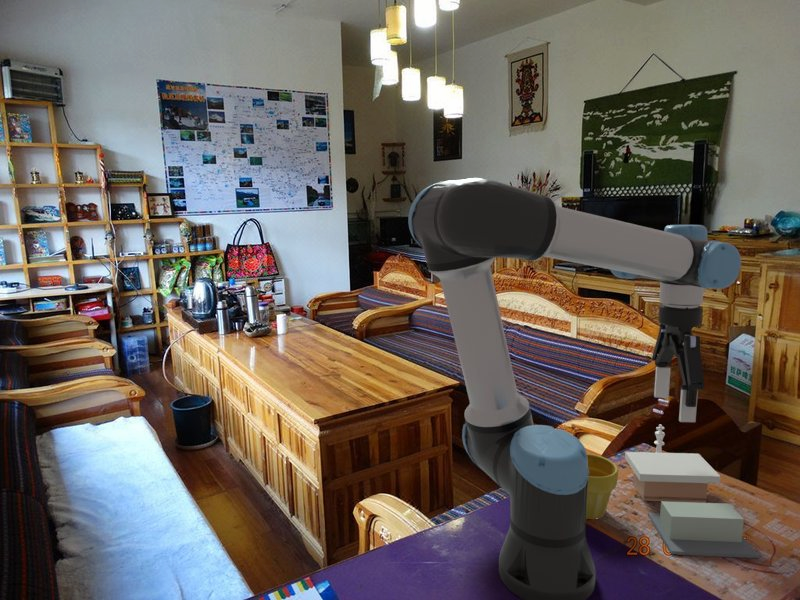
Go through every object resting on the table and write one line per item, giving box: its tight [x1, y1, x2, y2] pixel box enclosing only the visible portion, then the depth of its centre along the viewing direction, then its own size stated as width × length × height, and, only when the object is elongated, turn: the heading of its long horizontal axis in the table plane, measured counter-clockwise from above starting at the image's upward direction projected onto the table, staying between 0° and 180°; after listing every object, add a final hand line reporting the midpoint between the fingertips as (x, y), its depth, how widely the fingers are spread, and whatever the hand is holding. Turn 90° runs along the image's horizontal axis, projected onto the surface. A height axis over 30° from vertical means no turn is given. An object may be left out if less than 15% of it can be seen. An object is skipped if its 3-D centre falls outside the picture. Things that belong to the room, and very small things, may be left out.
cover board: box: [624, 451, 721, 484], centre depth 113 cm, size 15×10×2 cm, turn 84°
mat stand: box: [647, 501, 759, 559], centre depth 99 cm, size 14×12×5 cm
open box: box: [632, 472, 709, 503], centre depth 114 cm, size 12×7×5 cm, turn 84°
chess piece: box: [653, 424, 666, 453], centre depth 125 cm, size 5×5×10 cm
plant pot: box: [586, 453, 619, 520], centre depth 107 cm, size 10×10×10 cm
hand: (673, 408), depth 111 cm, fingers open, 13 cm apart
